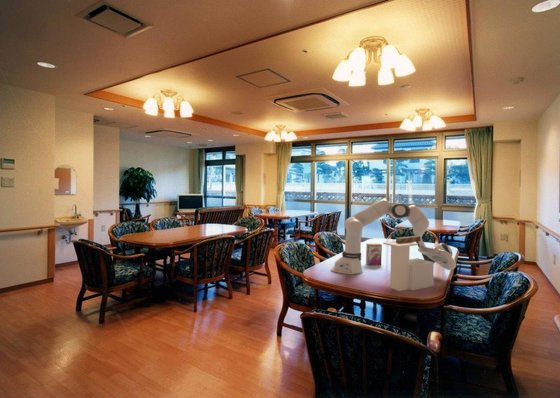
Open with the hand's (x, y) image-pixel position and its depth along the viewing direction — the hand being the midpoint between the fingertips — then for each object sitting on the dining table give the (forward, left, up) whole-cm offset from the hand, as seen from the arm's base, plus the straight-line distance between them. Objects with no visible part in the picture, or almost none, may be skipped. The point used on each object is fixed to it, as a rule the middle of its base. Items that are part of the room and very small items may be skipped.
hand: (426, 247), depth 204 cm
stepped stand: (-11, -13, -23) cm, 28 cm away
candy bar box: (-36, +37, -23) cm, 57 cm away
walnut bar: (-11, -13, +5) cm, 18 cm away
